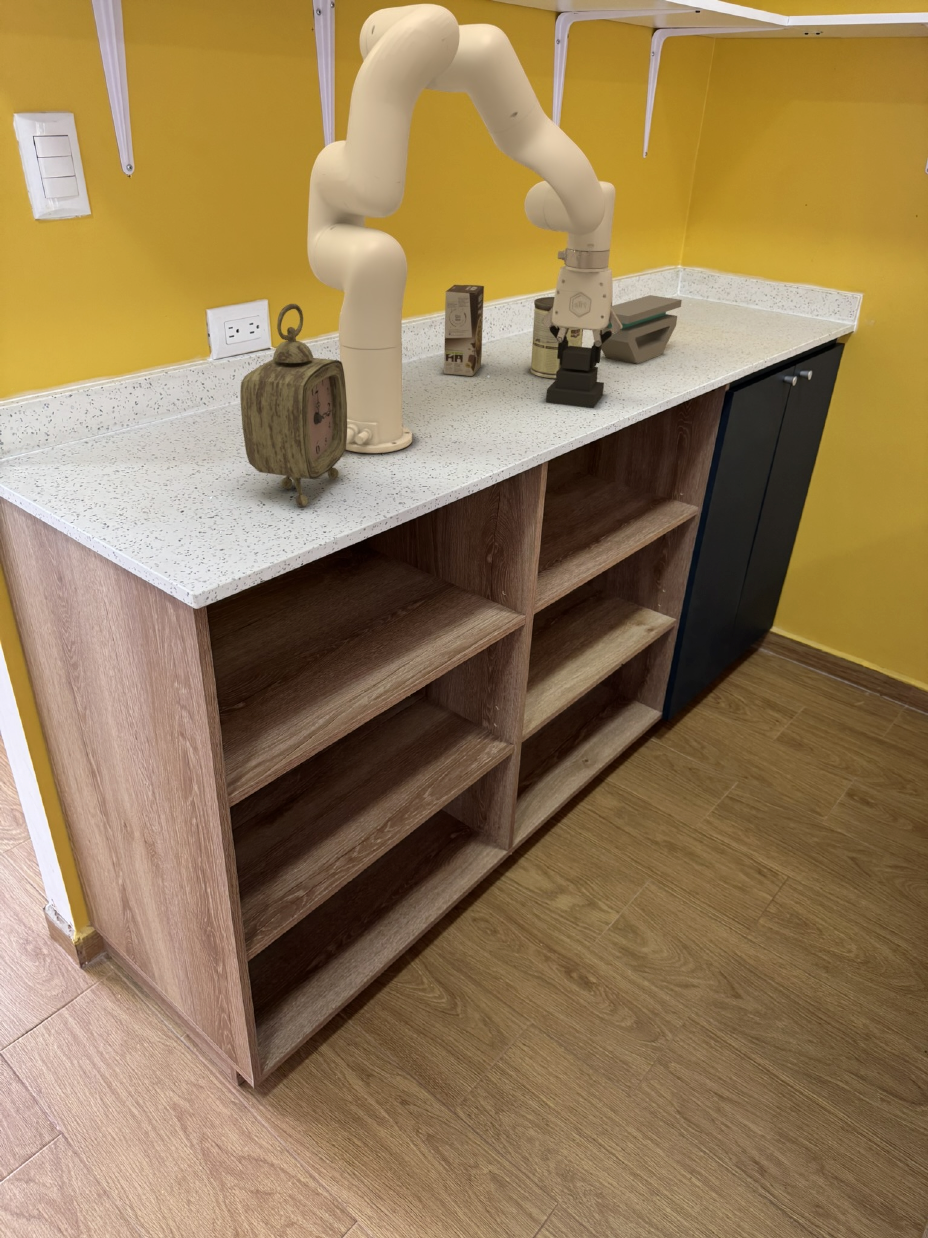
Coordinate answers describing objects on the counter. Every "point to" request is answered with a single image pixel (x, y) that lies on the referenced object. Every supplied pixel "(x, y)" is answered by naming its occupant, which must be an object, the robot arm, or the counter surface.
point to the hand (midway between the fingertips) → (578, 363)
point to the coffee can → (548, 341)
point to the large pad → (575, 396)
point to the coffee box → (463, 329)
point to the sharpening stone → (641, 329)
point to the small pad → (576, 358)
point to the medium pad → (576, 379)
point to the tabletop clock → (295, 412)
